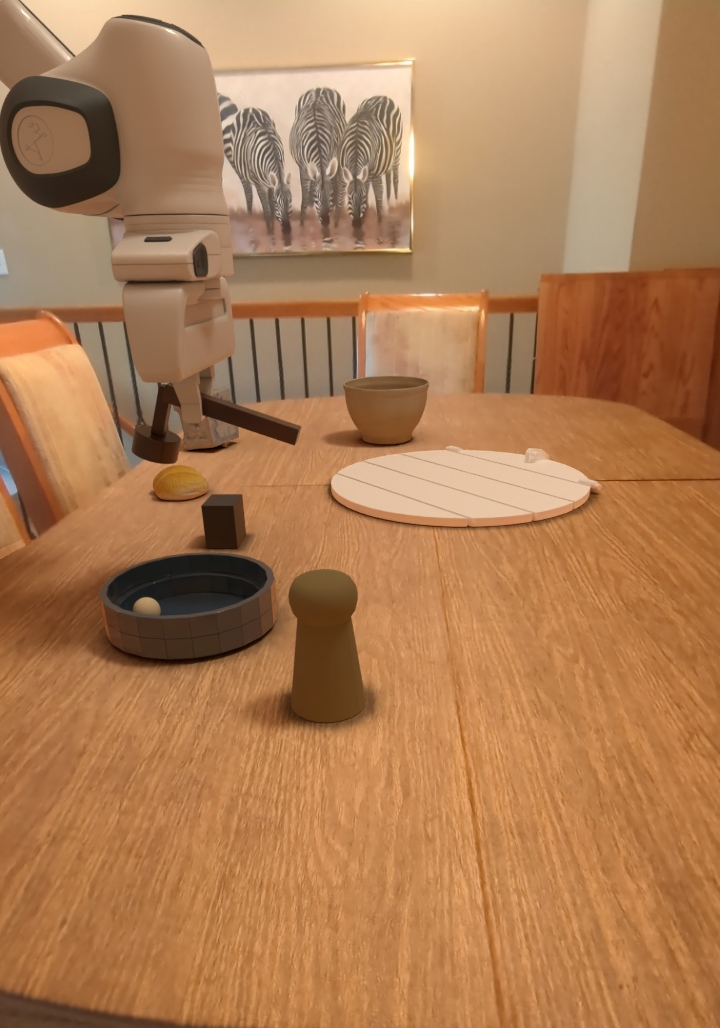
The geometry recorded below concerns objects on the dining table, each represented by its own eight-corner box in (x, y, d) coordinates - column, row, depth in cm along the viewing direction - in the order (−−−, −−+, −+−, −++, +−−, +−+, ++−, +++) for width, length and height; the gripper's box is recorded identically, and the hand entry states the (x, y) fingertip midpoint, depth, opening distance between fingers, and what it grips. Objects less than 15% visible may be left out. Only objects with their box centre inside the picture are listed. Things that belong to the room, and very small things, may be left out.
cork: (276, 700, 61) (265, 574, 56) (334, 675, 65) (329, 554, 60) (321, 731, 57) (314, 598, 52) (381, 703, 60) (379, 575, 55)
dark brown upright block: (206, 548, 94) (200, 505, 91) (216, 535, 98) (211, 494, 96) (237, 548, 94) (233, 505, 91) (246, 535, 98) (242, 494, 95)
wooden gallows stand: (124, 453, 72) (136, 379, 68) (140, 443, 75) (152, 372, 72) (277, 503, 72) (296, 432, 69) (285, 491, 76) (304, 423, 73)
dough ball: (147, 587, 73) (140, 600, 75) (131, 604, 71) (124, 616, 73) (169, 604, 73) (161, 616, 75) (153, 621, 72) (145, 633, 74)
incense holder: (204, 440, 151) (198, 385, 146) (241, 442, 148) (236, 387, 143) (177, 450, 143) (169, 393, 138) (215, 453, 140) (208, 395, 135)
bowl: (79, 662, 68) (69, 617, 66) (141, 590, 82) (135, 551, 80) (259, 666, 66) (254, 620, 64) (289, 591, 81) (286, 552, 79)
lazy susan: (466, 445, 141) (467, 426, 140) (648, 488, 113) (652, 466, 111) (283, 483, 120) (282, 461, 119) (449, 547, 92) (450, 520, 90)
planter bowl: (328, 440, 147) (325, 382, 143) (387, 428, 157) (387, 373, 152) (385, 453, 137) (384, 391, 132) (445, 439, 146) (446, 380, 141)
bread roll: (159, 504, 111) (155, 478, 109) (151, 489, 119) (147, 464, 117) (214, 497, 114) (211, 471, 112) (204, 483, 121) (201, 458, 120)
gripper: (181, 255, 75) (196, 400, 81) (100, 256, 57) (128, 442, 63) (243, 254, 74) (254, 400, 81) (182, 255, 56) (202, 442, 62)
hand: (198, 419), depth 72 cm, fingers closed on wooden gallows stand
